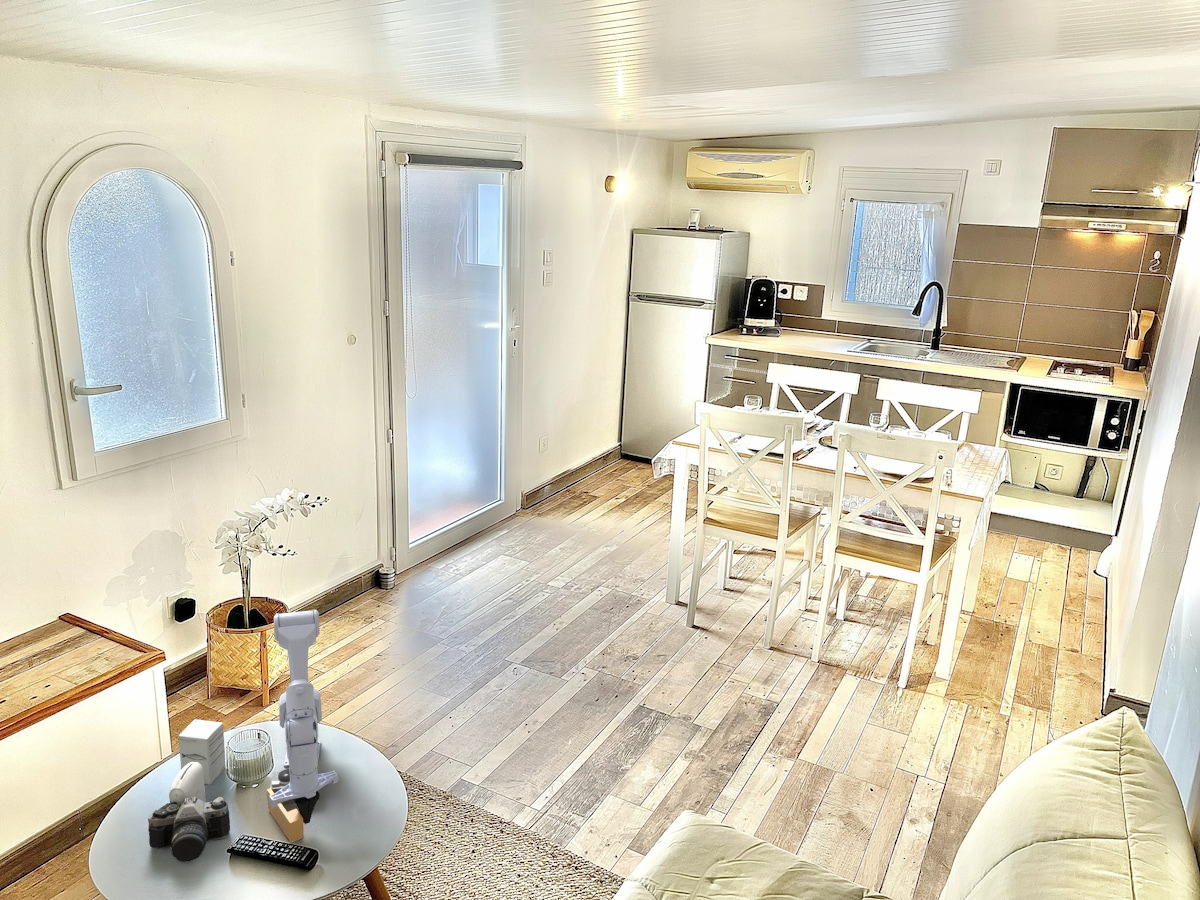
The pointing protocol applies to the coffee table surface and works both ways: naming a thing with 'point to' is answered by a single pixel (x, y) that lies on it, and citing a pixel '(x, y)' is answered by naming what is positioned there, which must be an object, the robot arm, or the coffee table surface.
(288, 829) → the tan l-shaped bracket
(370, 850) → the coffee table surface
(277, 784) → the block
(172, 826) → the camera
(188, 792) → the photo printer
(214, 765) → the supplement box
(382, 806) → the coffee table surface
